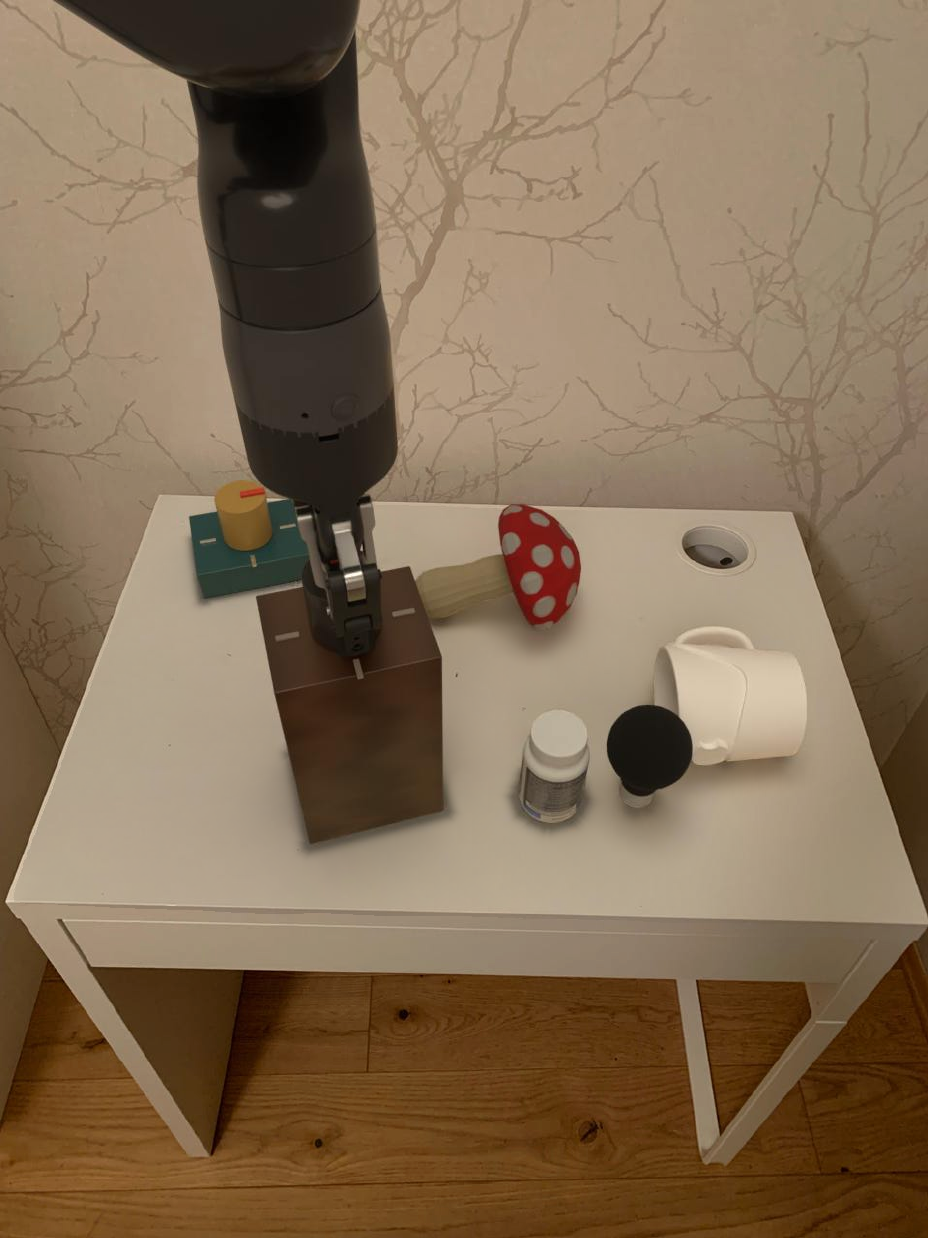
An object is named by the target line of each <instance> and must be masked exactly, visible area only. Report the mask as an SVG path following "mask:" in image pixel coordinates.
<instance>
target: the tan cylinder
mask: <svg viewBox="0 0 928 1238" xmlns="http://www.w3.org/2000/svg"><path fill="white" fill-rule="evenodd" d="M213 501H214V505H215V509H216V511H217V513H218V517H219V521H220V525H221V529H222V533H223V537H224V541H225V542H226V544H227V545H228V546H229V547H231V548H233V549H236V550H240V551H249V550H255V549H258V548H260V547H262V546H264V545H265V544H266V543H267V542H268V541H269V540H270V539H271V537H272V534H273V529H272V524H271V519H270V514H269V509H268V504H267V503H268V500H267V495H266V490H265V488H264V486H263V485H262V484H259V483H258V482H255V481H252V480H245V479H241V480H234V481H231V482H228V483H226V484H224V485H222V486H221V487H220V488H219V489H218V490H217V491H216V492H215V495H214V498H213Z"/></svg>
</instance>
